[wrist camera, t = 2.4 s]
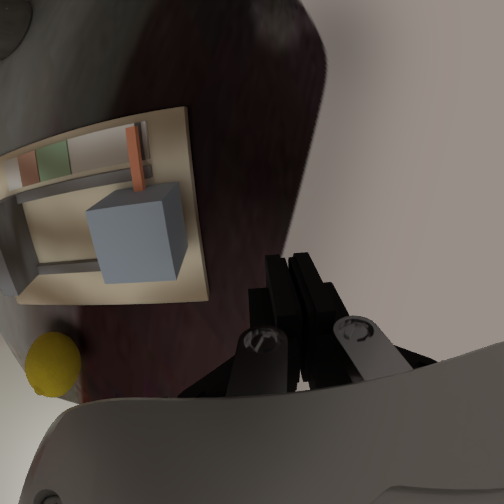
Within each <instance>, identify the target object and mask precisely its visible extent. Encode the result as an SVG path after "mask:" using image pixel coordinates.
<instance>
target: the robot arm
mask: <svg viewBox="0 0 504 504" xmlns="http://www.w3.org/2000/svg"><path fill="white" fill-rule="evenodd" d="M288 263H289V264H288V266H287V263H286V260H285V258H280V256H279V254H278V255H265V268H266V288H255V289H248V294H249V312H250V328H249V329H247V330H245V331H244V332H243V333H242V334H241V335H240V337H239V340H238V344H237V348H236V353H235V355H234V356H233V357H232V358H230V359H229V360H227V361H226V362H225V363H223V364H222V365H220V366H219V367H218V368H216V369H215V370H213V371H212V372H210V373H209V374H208V375H206V376H205V377H203V378H202V379H200V380H199V381H197V382H196V383H195V384H193V385H192V386H190V387H189V388H187V389H186V390H184V391H183V392H182V393H181V394H179V395H178V397H177V398H168V397H161V398H139V397H135V398H114V399H104V400H97V401H92V402H88V403H83V404H80V405H77V406H74V407H72V408H69V409H67V410H66V411H64V412H63V413H62V414H60V415H59V416H58V417H57V418H56V419H55V421H54V422H53V423H52V424H51V426H50V427H49V429H48V430H47V432H46V434H45V436H44V437H43V439H42V441H41V443H40V445H39V448H38V449H37V452H36V454H35V456H34V459H33V461H32V464H31V466H30V469H29V471H28V474H27V477H26V479H25V483H24V486H23V489H22V493H21V496H20V500H19V503H18V504H504V342H500V343H496V344H493V345H490V346H487V347H484V348H481V349H478V350H475V351H472V352H469V353H466V354H463V355H460V356H457V357H454V358H451V359H447V360H444V361H441V362H437V361H435V360H433V359H431V358H428V357H425V356H422V355H420V354H417V353H414V352H411V351H408V350H406V349H403V348H400V347H398V346H395V345H393V344H392V343H391V342H390V340H389V339H388V338H387V337H386V336H385V334H384V333H383V332H382V331H381V330H380V328H379V327H378V326H377V325H376V324H375V323H374V322H373V321H372V320H370V319H368V318H365V317H361V316H349V314H348V312H347V310H346V308H345V306H344V304H343V302H342V300H341V299H340V297H339V295H338V293H337V291H336V289H335V287H334V285H333V284H332V283H331V282H326V283H323V282H322V280H321V278H320V276H319V274H318V272H317V269H316V268H315V266H314V263H313V262H312V260H311V258H310V256H309V254H308V253H307V252H305V253H294V254H293V257H290V258H289V259H288ZM300 371H301V375H302V379H303V382H307V381H308V382H309V387H310V390H305V391H297V392H295V390H296V389H297V383H298V382H299V377H300Z"/></svg>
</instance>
